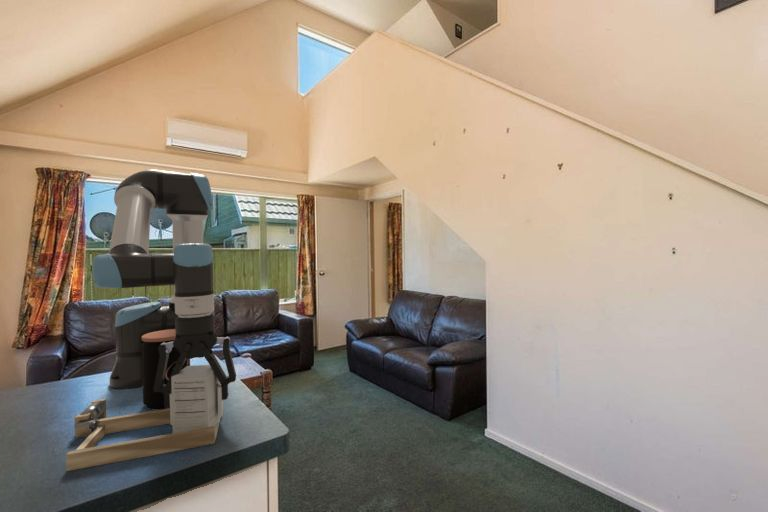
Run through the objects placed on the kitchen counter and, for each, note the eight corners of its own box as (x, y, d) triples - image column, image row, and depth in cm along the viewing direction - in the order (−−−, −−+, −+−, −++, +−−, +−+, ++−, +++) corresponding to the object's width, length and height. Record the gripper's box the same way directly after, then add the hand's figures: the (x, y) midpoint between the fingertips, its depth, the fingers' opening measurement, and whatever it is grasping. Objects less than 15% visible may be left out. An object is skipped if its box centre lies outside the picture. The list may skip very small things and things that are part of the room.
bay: (100, 432, 76) (100, 418, 76) (221, 413, 84) (221, 400, 84) (66, 471, 62) (66, 454, 62) (214, 443, 70) (214, 429, 70)
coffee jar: (168, 412, 85) (166, 339, 85) (132, 409, 87) (130, 337, 87) (200, 394, 95) (198, 329, 95) (167, 392, 98) (165, 328, 97)
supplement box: (188, 420, 79) (187, 365, 79) (221, 418, 80) (220, 363, 80) (171, 437, 72) (169, 376, 72) (208, 435, 73) (207, 375, 72)
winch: (92, 419, 82) (91, 399, 82) (117, 415, 84) (116, 396, 84) (65, 445, 71) (65, 423, 71) (95, 440, 73) (94, 418, 72)
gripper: (131, 321, 68) (134, 435, 69) (246, 313, 76) (249, 416, 76) (143, 315, 76) (146, 418, 76) (247, 308, 83) (250, 402, 83)
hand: (197, 417), depth 76 cm, fingers open, 8 cm apart
